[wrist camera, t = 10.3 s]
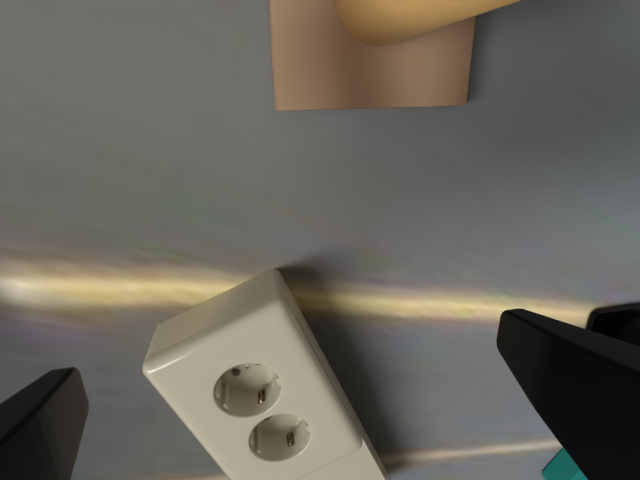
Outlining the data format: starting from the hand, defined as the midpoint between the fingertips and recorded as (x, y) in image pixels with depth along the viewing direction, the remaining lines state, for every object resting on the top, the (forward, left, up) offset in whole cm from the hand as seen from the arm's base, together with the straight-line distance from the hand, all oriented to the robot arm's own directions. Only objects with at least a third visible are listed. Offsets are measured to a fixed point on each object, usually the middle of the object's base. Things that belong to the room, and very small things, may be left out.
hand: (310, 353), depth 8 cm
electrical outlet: (0, +13, -13) cm, 18 cm away
